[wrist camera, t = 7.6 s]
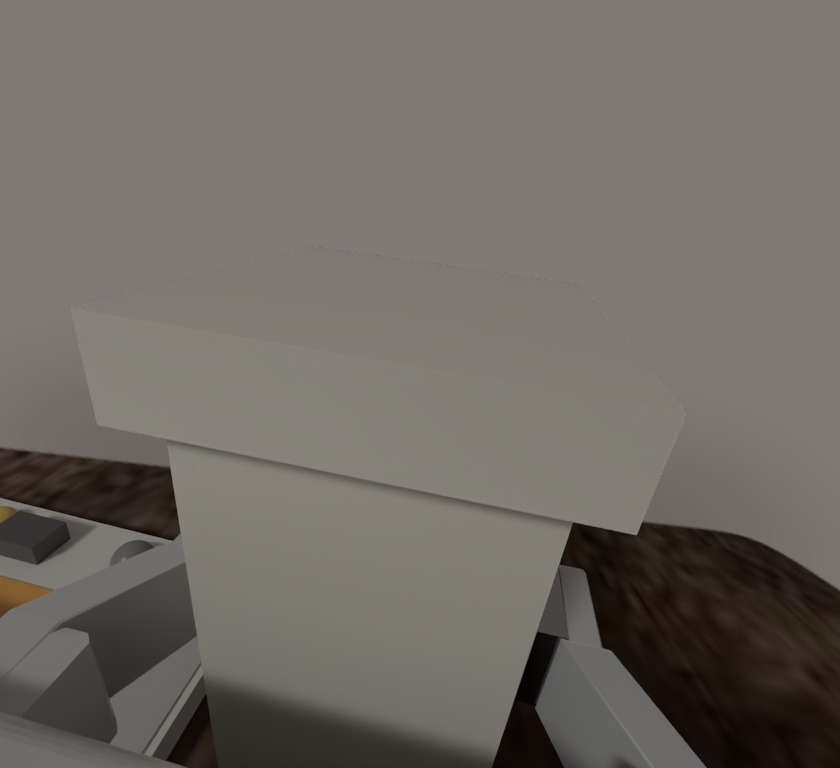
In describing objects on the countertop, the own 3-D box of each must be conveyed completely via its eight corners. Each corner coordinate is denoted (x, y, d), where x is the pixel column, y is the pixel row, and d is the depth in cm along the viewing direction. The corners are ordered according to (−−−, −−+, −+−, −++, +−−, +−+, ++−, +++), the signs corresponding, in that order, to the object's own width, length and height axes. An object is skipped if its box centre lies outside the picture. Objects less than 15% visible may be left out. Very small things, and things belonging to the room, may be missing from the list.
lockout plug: (472, 690, 13) (578, 283, 8) (454, 971, 8) (686, 412, 3) (308, 648, 14) (309, 245, 9) (204, 888, 9) (70, 307, 4)
